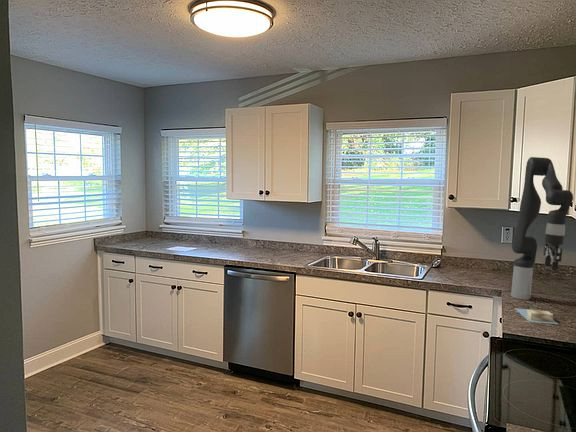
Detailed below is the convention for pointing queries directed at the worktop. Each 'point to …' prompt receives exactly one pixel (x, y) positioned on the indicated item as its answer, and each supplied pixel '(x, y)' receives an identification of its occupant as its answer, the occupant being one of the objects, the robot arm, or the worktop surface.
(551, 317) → the cream notched block
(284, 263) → the worktop surface
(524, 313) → the mat
